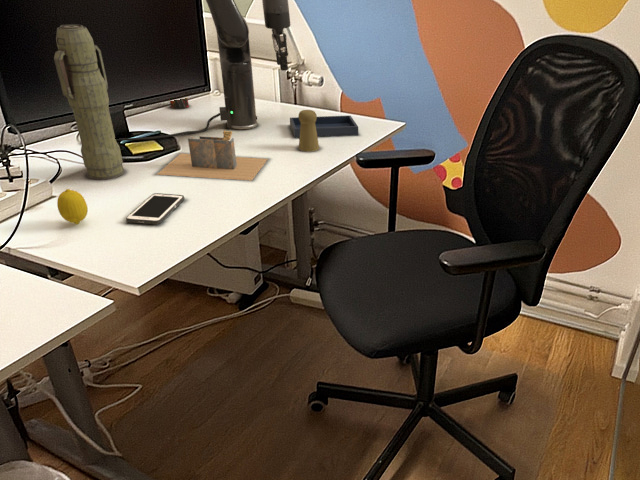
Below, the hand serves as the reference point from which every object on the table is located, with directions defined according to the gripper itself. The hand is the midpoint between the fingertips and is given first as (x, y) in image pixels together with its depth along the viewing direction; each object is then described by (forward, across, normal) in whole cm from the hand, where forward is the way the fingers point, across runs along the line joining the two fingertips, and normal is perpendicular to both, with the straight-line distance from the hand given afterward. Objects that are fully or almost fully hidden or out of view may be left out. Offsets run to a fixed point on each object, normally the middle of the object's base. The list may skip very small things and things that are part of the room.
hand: (282, 67), depth 186 cm
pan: (+18, +8, +10) cm, 22 cm away
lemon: (+16, +65, -55) cm, 86 cm away
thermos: (+16, +35, -52) cm, 64 cm away
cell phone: (+17, +61, -39) cm, 74 cm away
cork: (+18, +24, +2) cm, 31 cm away
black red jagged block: (+16, -27, -34) cm, 46 cm away
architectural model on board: (+17, +35, -25) cm, 46 cm away
